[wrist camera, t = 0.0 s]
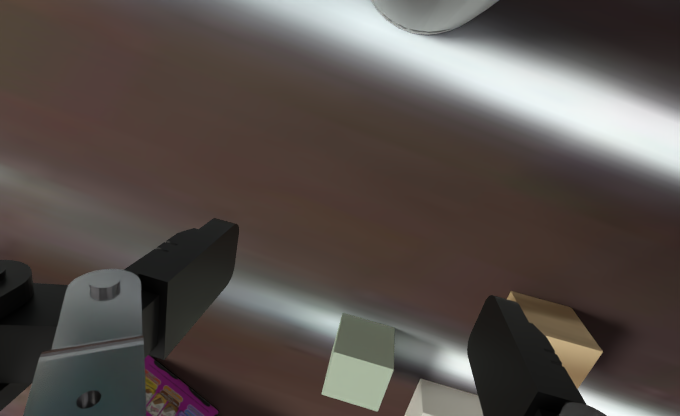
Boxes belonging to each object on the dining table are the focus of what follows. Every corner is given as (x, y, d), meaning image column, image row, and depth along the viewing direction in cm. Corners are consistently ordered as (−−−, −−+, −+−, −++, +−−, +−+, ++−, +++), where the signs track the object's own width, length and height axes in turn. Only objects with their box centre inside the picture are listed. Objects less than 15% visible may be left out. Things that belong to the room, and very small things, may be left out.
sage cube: (342, 312, 33) (333, 351, 28) (394, 327, 33) (393, 369, 28) (331, 351, 35) (321, 394, 30) (380, 366, 34) (377, 411, 30)
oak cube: (510, 290, 29) (531, 331, 25) (571, 307, 29) (602, 351, 24) (488, 335, 31) (503, 381, 27) (544, 351, 31) (569, 400, 26)
